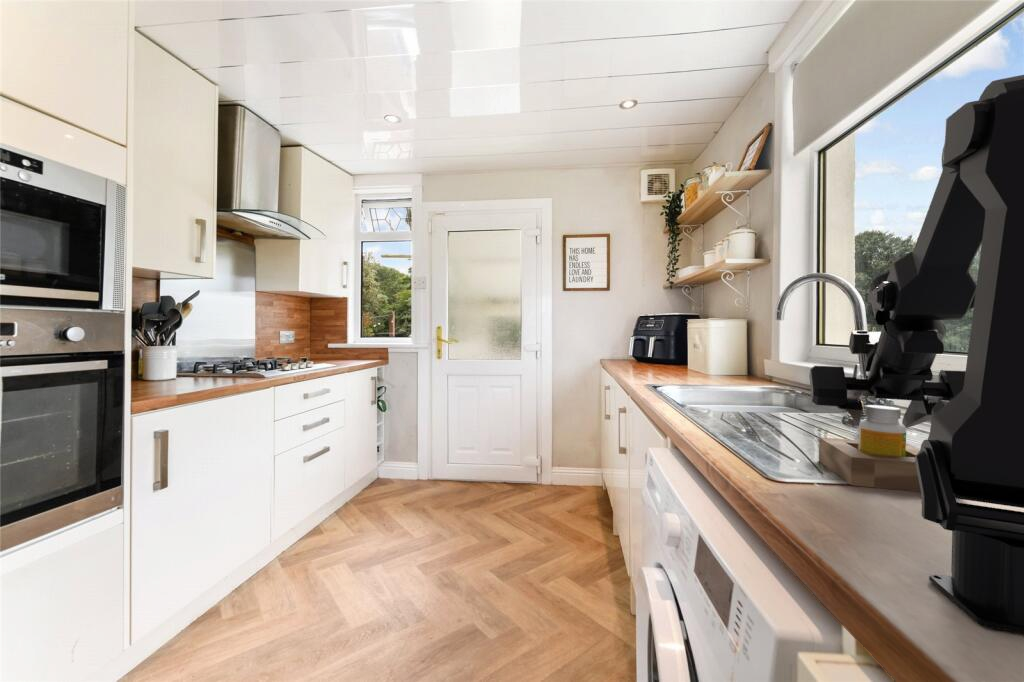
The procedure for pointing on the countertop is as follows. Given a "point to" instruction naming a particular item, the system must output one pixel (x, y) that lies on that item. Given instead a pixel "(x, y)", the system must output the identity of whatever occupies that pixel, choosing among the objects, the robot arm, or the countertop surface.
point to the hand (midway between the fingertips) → (879, 423)
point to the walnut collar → (869, 465)
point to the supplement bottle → (882, 432)
